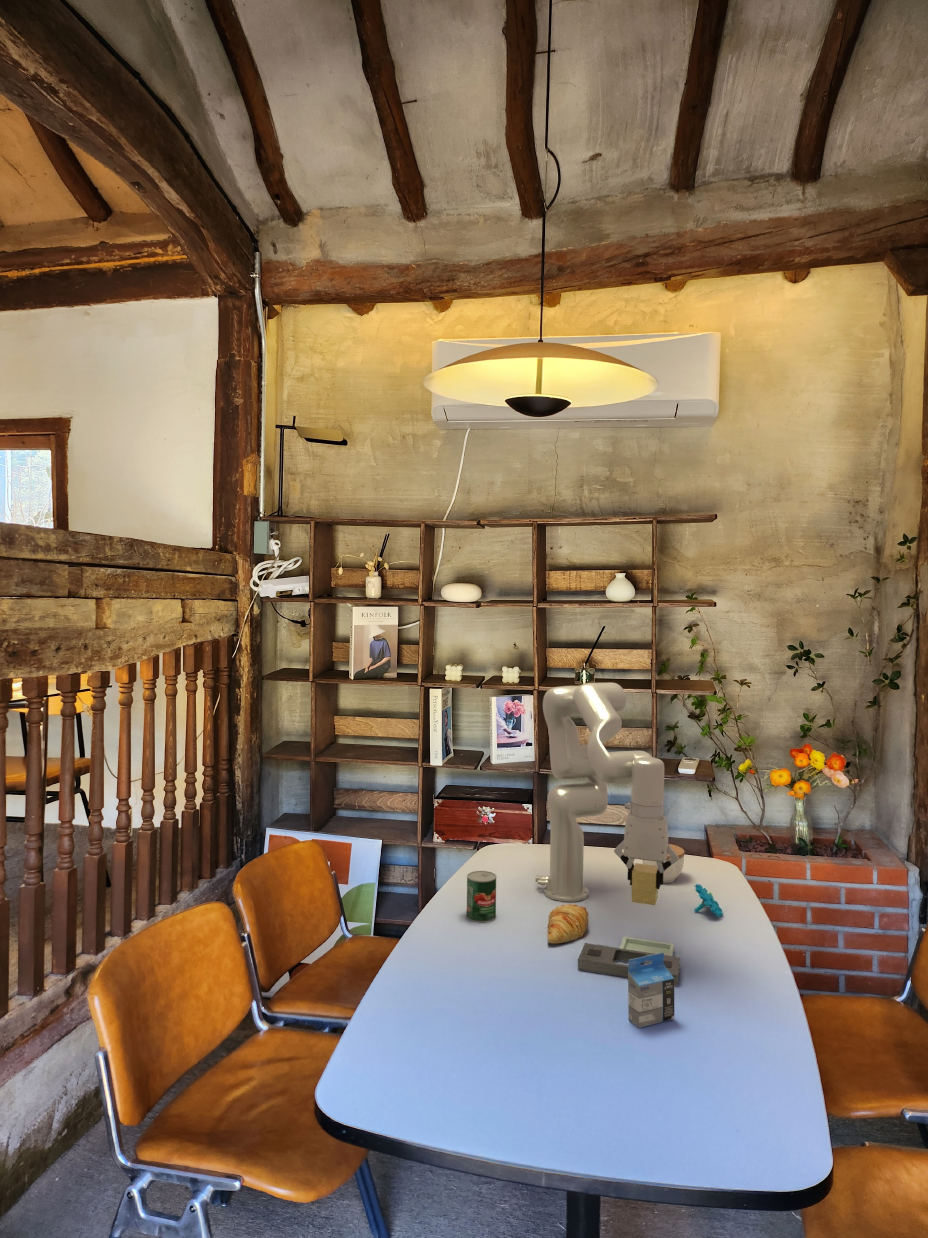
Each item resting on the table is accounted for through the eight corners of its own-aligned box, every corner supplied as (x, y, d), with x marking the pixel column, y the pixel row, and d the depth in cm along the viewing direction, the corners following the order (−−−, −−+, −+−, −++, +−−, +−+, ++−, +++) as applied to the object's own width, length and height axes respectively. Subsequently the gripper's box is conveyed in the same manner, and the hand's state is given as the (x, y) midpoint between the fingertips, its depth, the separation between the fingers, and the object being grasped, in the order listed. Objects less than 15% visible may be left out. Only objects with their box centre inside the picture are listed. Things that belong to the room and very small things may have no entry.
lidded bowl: (688, 886, 233) (689, 849, 233) (646, 886, 233) (646, 849, 233) (677, 872, 246) (678, 837, 245) (637, 871, 246) (638, 836, 246)
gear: (723, 917, 206) (696, 886, 210) (706, 931, 207) (679, 899, 211) (727, 908, 216) (701, 878, 220) (711, 922, 217) (685, 891, 221)
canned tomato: (484, 925, 204) (485, 883, 203) (460, 917, 208) (460, 876, 208) (501, 915, 210) (502, 875, 210) (478, 908, 215) (478, 868, 214)
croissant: (560, 964, 190) (575, 939, 188) (527, 937, 194) (541, 912, 192) (592, 931, 208) (606, 907, 206) (561, 906, 213) (574, 883, 210)
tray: (619, 957, 186) (619, 950, 186) (623, 943, 194) (623, 936, 194) (671, 965, 182) (671, 958, 182) (673, 950, 190) (673, 944, 190)
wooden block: (631, 902, 186) (632, 870, 185) (634, 893, 191) (635, 863, 190) (655, 905, 184) (656, 874, 183) (657, 897, 189) (658, 866, 188)
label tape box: (639, 1029, 155) (639, 967, 155) (626, 1019, 159) (627, 959, 158) (675, 1020, 158) (676, 960, 158) (662, 1010, 162) (663, 951, 162)
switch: (577, 970, 180) (577, 958, 179) (584, 953, 188) (585, 942, 188) (677, 986, 172) (677, 974, 172) (679, 968, 181) (680, 957, 181)
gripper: (608, 810, 186) (606, 885, 187) (683, 818, 180) (681, 896, 181) (613, 802, 193) (611, 875, 194) (685, 810, 187) (683, 885, 188)
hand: (645, 884), depth 187 cm, fingers closed on wooden block, 5 cm apart
